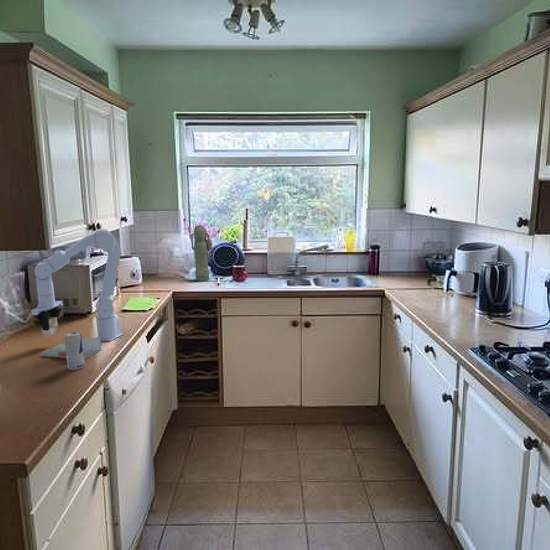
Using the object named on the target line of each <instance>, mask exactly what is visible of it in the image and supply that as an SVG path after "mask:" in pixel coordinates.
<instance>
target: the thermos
mask: <svg viewBox="0 0 550 550" xmlns="http://www.w3.org/2000/svg"><path fill="white" fill-rule="evenodd" d="M210 235H211V234H209V232H207V230H206V226H204V225H195V226H194V229H193V233H191V235H190V240H191V241H190V242H191V249H192V250H193V253H194V258H195V270H194V271H195V273H194V274H195V281H197V282H207V281H209V280H210V269H209V258H208V257H209V256H208V254H209V250H210V248H211V242H210V241H211V239H210Z"/></svg>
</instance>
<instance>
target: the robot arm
mask: <svg viewBox="0 0 550 550" xmlns="http://www.w3.org/2000/svg"><path fill="white" fill-rule="evenodd" d="M97 245H98V246H100V247H101V248H103V249H104V250H105V252H106V254H107V259H106V265H105V271H104V275H103V281H102V286H101V291H100V294H99V299H98V300H97V301H96V302H95V303H96V304H95V310H96V312H97V315H95V321H96V323H95V324H96V333H97V336H96V337H94V338H93V339H100V341H102V342H103V341H104V342H111V341H113V340H115V339H118V337H121V336H123V335H124V333H123V332H122V327H121V318H120V317H119V315H118V314H116V313H114V312H115V308H114V304H113V303H114V293H115V287H116V282H117V276H118V271H119V266H120V260H121V254H122V251H121V248H120V246H119V243H118V242H117V239H116V237H115V236H114V235H113V234H112V233H111V232H110V231H109V230H108V229H106V228H102V227H101V228H98V229H97V230H95V231H92V232H91V233H89V234H87V235H85V236H84V237H82V238H81V239H79V240H78V241H77V242H75V243H74V244H73V245H71V246H70V247H69V248H67V249H66V250H62V249H61V250H58V251H57V250H55V251H54V252H52V253H53V254H52V255H50V256H49V257H47V258H46V259H45V258H44V259H43V260H42V262H39V263H37V264H36V266H35V268H34V270H33V271H34V274H35V275H34V276H35V277H36V278H35V281H36V290H37V291H36V292H37V300H38V301H37V302H38V305H37V306H36V307H35V308H33V309H31V316H34V317H35V318H36V319H37V321H38V322H39V324H40V326H41V330H42V329H43V330H49V317H57V323H58V322H59V316H60V314H61V312H62V308H61V307H63V305H64V304H63V301H62V300H56V295H55V289H54V282H53V279H52V275H53V273H56V272H58V271H59V270H60V269H61V268H63V267H65V266H67V265H68V264H69V263H70V261H71V258H72V257H74V256H75V255H76V254H78V253H80V252H82V251H83V250H84V249H86V248H88V247H96V246H97Z"/></svg>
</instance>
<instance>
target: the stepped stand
mask: <svg viewBox="0 0 550 550" xmlns="http://www.w3.org/2000/svg"><path fill="white" fill-rule="evenodd" d="M82 347H83V357H84V361H85V360H87V359H88V357H89V358H90V357H92V356H94V355H96V354H98V353H99V351H100V352H102V344H101V340H100V339H94V338H91V337H88V338H87V337H86V338H84V339H82ZM45 356H46V357H47V358H57V357H60V358H59V359H66V350H65V343H59V344H57V345H55V346H53V347H50V348H48V349H46V350H44V351H42V352H41V357H45ZM46 357H45V358H46Z"/></svg>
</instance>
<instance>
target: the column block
mask: <svg viewBox="0 0 550 550" xmlns="http://www.w3.org/2000/svg"><path fill="white" fill-rule="evenodd" d="M58 333H59V325H58V322H57V317H49V330H43V329H42V328H41V334H42V336H53V335H54V334H55V335H56V334H58Z"/></svg>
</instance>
